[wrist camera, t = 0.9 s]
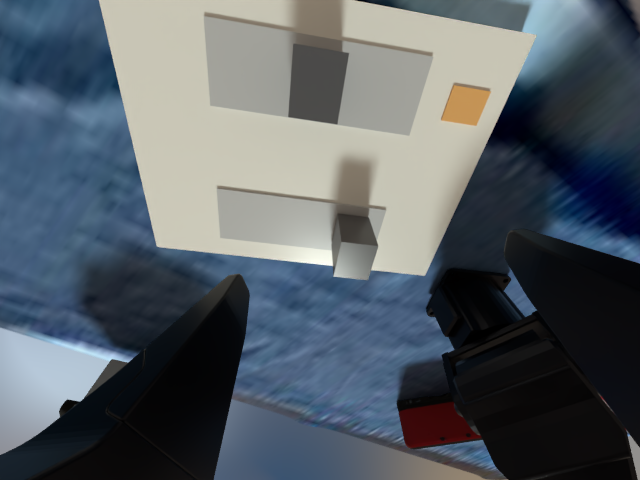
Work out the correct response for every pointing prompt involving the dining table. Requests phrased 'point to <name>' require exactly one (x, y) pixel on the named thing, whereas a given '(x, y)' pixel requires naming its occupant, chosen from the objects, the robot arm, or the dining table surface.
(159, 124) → the board
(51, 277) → the dining table surface
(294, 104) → the block
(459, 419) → the handheld game console
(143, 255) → the dining table surface
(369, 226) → the block
